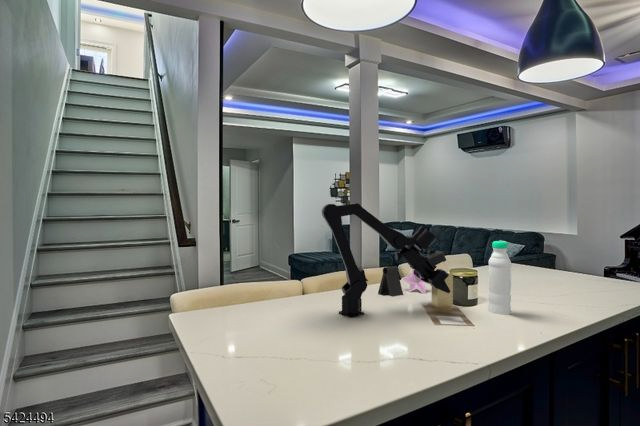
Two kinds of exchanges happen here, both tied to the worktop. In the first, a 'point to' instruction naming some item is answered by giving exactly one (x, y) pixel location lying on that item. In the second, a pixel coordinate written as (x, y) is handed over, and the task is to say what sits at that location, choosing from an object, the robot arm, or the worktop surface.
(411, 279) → the lily
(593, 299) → the worktop surface
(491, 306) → the water bottle
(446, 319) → the shaft board
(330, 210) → the robot arm
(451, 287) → the sleeve
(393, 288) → the phone stand
